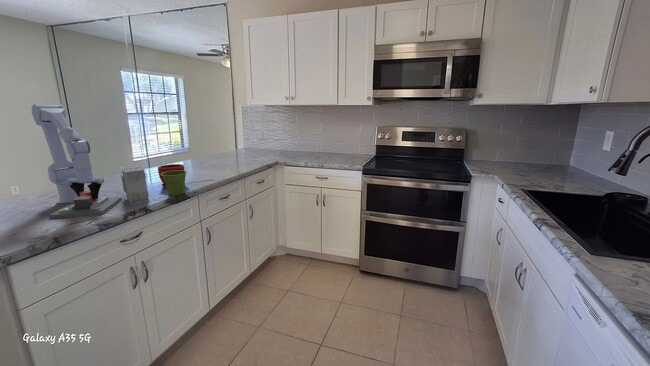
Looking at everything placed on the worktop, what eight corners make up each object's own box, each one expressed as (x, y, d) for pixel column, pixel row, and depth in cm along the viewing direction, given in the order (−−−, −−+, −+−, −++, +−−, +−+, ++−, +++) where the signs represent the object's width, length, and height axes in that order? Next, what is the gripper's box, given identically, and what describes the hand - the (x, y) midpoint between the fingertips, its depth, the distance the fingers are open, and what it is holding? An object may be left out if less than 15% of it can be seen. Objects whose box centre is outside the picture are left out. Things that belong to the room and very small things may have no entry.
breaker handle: (79, 206, 123) (76, 196, 122) (92, 205, 124) (90, 195, 123) (75, 209, 120) (73, 198, 119) (89, 208, 121) (87, 197, 120)
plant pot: (160, 193, 148) (157, 172, 145) (184, 189, 156) (182, 169, 153) (168, 198, 140) (164, 176, 137) (192, 194, 148) (190, 172, 145)
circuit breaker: (141, 194, 147) (137, 165, 144) (149, 200, 137) (144, 169, 134) (124, 197, 142) (119, 167, 138) (131, 203, 132) (125, 172, 129)
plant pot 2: (191, 185, 165) (189, 164, 162) (170, 190, 154) (167, 168, 151) (176, 182, 171) (174, 162, 168) (155, 187, 160) (152, 166, 157)
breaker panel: (77, 203, 133) (76, 197, 132) (121, 200, 137) (120, 194, 137) (49, 218, 114) (48, 212, 113) (102, 214, 119) (101, 208, 118)
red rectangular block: (81, 203, 125) (79, 192, 124) (91, 200, 129) (89, 190, 128) (87, 204, 124) (85, 193, 123) (97, 201, 127) (95, 190, 126)
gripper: (106, 167, 127) (112, 196, 130) (73, 166, 126) (79, 196, 130) (94, 170, 120) (100, 201, 123) (59, 170, 120) (66, 201, 123)
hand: (89, 199), depth 126 cm, fingers closed on red rectangular block, 5 cm apart
